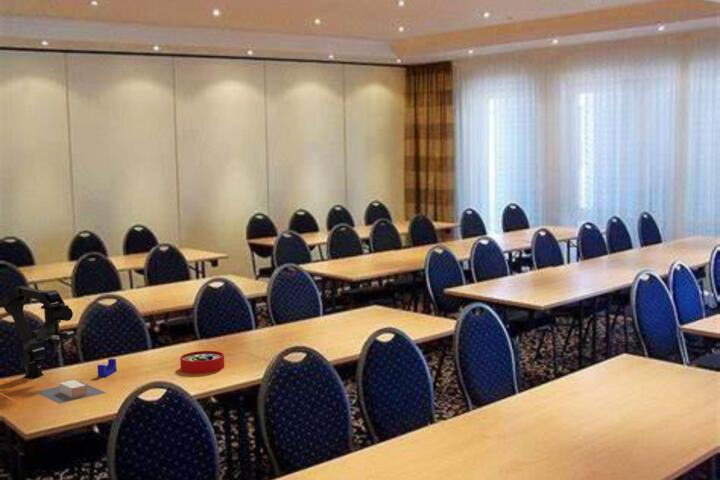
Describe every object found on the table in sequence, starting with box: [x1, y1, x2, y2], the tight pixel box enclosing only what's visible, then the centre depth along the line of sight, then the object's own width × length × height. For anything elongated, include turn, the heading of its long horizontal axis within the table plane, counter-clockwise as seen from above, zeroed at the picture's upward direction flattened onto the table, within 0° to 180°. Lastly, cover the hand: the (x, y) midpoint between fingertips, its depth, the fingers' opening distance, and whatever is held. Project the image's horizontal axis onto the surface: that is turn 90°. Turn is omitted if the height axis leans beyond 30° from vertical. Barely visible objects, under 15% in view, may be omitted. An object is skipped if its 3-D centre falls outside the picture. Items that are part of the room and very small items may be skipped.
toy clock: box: [179, 350, 226, 375], centre depth 377 cm, size 20×6×20 cm
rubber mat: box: [35, 381, 107, 405], centre depth 341 cm, size 24×20×1 cm
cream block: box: [59, 379, 88, 398], centre depth 339 cm, size 4×6×12 cm
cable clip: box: [97, 358, 117, 379], centre depth 369 cm, size 12×4×6 cm, turn 171°
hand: (54, 353), depth 361 cm, fingers closed
